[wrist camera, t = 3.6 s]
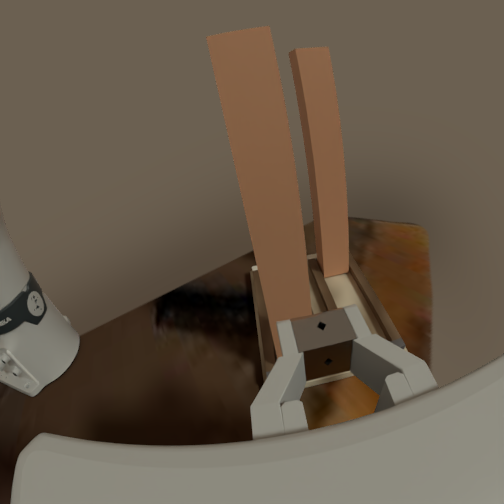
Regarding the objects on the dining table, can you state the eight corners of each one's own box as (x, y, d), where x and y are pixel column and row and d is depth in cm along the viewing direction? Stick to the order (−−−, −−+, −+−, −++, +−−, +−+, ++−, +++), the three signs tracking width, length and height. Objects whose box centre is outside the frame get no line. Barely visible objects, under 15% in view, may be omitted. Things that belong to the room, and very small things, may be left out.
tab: (280, 371, 31) (206, 36, 14) (275, 345, 34) (209, 46, 18) (315, 364, 31) (269, 25, 14) (307, 339, 34) (262, 36, 18)
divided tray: (266, 395, 30) (263, 385, 29) (251, 276, 50) (248, 265, 48) (407, 358, 29) (410, 347, 28) (347, 255, 49) (347, 245, 48)
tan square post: (324, 277, 43) (295, 48, 27) (317, 263, 47) (288, 52, 30) (348, 272, 43) (328, 46, 27) (340, 258, 47) (318, 50, 30)
